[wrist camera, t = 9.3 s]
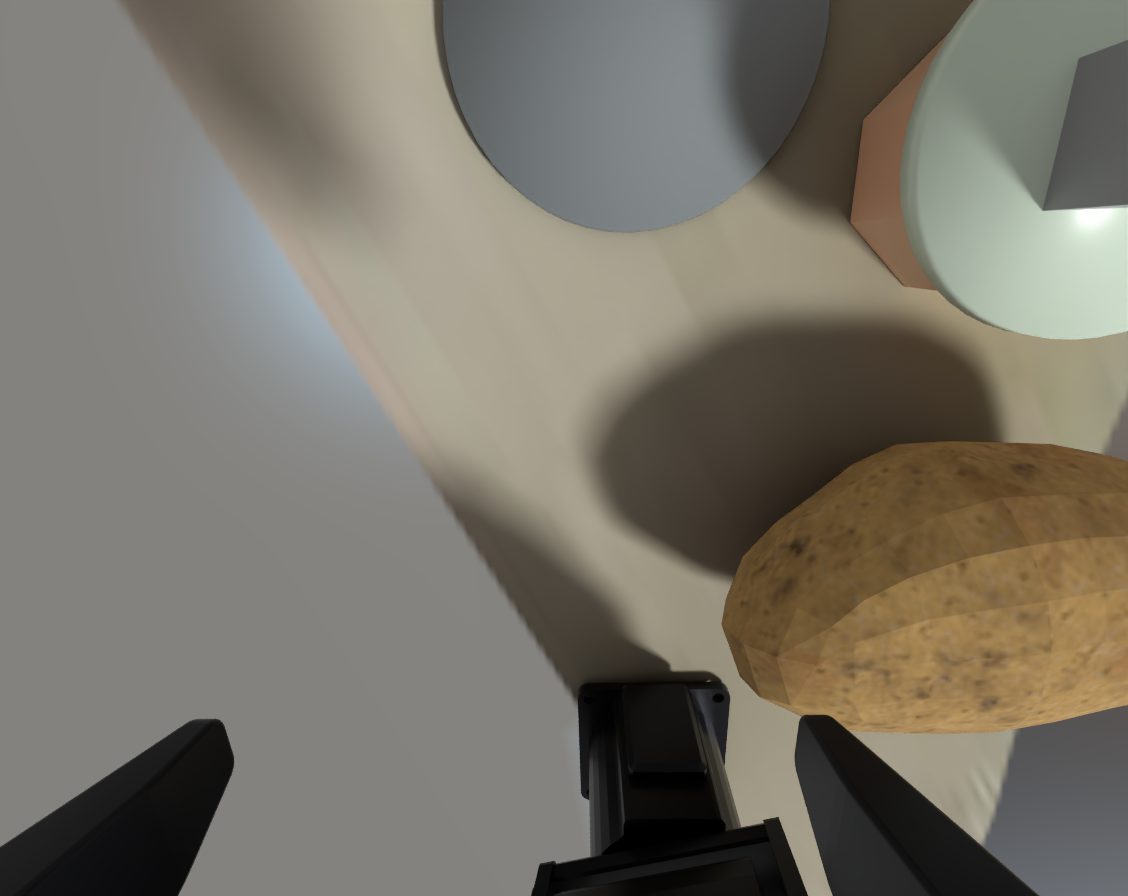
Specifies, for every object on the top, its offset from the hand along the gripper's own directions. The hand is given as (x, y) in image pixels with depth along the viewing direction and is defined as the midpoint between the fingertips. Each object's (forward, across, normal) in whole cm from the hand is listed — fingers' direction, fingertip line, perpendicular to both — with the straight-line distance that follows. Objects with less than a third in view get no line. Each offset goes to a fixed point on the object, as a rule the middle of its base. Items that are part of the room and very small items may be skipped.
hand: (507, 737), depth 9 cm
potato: (+13, -12, +4) cm, 19 cm away
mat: (+13, -3, -13) cm, 19 cm away
